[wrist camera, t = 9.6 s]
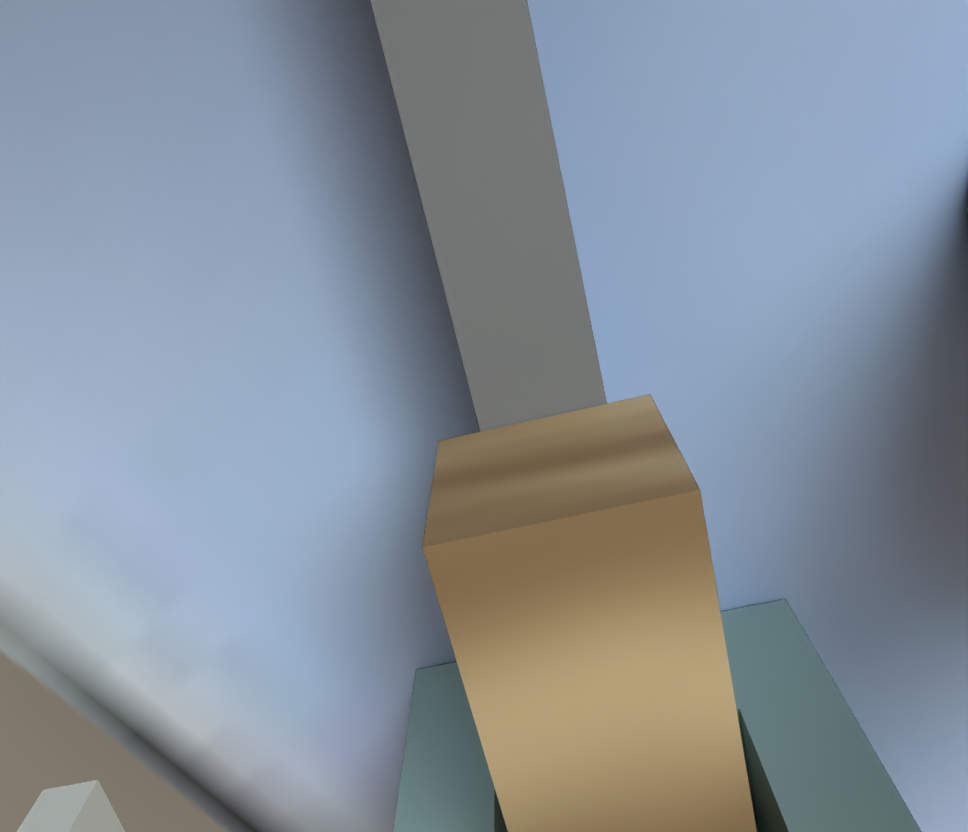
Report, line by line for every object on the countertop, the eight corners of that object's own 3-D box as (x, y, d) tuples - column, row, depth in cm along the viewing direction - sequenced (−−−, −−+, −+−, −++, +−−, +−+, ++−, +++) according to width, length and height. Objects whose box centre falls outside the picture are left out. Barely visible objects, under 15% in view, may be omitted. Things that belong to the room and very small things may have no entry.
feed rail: (338, -227, 16) (282, -344, 12) (461, -264, 16) (448, -395, 12) (511, 477, 21) (515, 570, 17) (607, 457, 21) (635, 546, 17)
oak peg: (438, 440, 16) (422, 547, 12) (650, 394, 16) (700, 490, 12) (583, 957, 21) (603, 1147, 17) (747, 931, 20) (804, 1119, 17)
